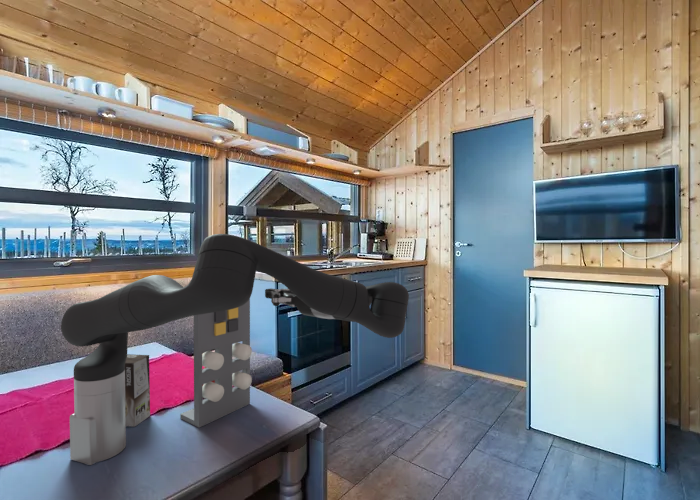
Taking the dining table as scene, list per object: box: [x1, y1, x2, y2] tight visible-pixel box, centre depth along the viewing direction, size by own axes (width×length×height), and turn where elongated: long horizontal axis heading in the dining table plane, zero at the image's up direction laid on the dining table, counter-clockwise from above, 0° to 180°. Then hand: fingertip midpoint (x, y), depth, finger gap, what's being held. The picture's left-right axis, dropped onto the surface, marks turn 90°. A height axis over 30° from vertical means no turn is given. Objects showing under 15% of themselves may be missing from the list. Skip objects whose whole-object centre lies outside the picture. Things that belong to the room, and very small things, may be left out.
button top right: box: [232, 342, 253, 360], centre depth 101 cm, size 4×4×4 cm
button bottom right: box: [232, 371, 253, 390], centre depth 101 cm, size 4×4×4 cm
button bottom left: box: [202, 382, 224, 402], centre depth 94 cm, size 4×4×4 cm
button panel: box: [179, 298, 251, 429], centre depth 100 cm, size 9×16×30 cm, turn 146°
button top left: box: [202, 350, 224, 370], centre depth 93 cm, size 4×4×4 cm
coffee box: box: [125, 353, 151, 428], centre depth 95 cm, size 9×6×16 cm
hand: (267, 293), depth 91 cm, fingers closed
